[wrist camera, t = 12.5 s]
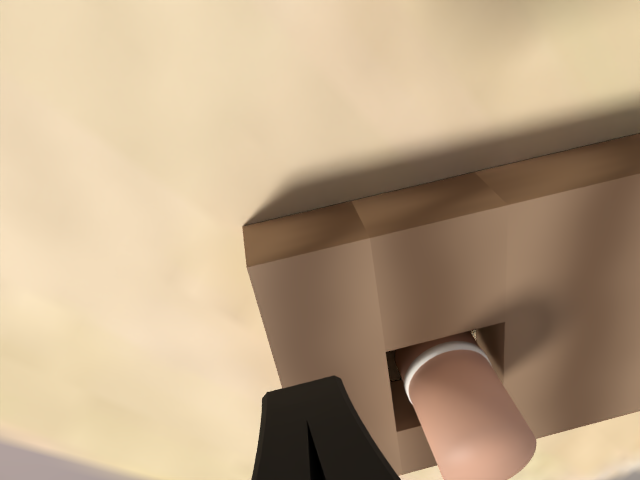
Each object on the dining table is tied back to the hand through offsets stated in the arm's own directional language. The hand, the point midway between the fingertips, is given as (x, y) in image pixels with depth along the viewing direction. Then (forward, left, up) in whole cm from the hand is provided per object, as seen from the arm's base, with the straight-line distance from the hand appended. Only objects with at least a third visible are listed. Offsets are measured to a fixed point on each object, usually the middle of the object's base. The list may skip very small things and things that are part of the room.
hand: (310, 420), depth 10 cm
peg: (-5, +8, -9) cm, 13 cm away
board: (-7, +7, -9) cm, 14 cm away
